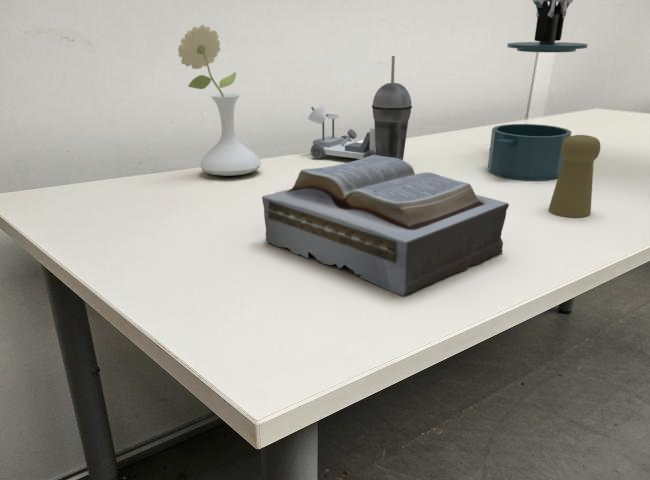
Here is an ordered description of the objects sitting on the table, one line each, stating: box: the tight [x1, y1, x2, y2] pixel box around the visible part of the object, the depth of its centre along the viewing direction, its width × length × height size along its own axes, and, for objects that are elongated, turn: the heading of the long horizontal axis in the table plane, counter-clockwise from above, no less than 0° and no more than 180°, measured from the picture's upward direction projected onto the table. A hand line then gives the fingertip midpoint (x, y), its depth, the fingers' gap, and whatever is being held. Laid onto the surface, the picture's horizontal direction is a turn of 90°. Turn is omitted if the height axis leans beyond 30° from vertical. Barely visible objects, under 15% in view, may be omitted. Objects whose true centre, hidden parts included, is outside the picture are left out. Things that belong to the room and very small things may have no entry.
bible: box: [261, 155, 510, 298], centre depth 76 cm, size 23×27×10 cm
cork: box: [547, 134, 601, 218], centre depth 89 cm, size 6×6×11 cm
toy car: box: [307, 105, 376, 160], centre depth 124 cm, size 18×10×12 cm
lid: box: [506, 14, 589, 53], centre depth 116 cm, size 15×15×6 cm
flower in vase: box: [177, 24, 262, 177], centre depth 108 cm, size 13×11×25 cm
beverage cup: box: [371, 55, 413, 161], centre depth 110 cm, size 7×7×20 cm
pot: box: [487, 123, 573, 182], centre depth 112 cm, size 14×19×8 cm
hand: (547, 39), depth 116 cm, fingers closed on lid, 2 cm apart
